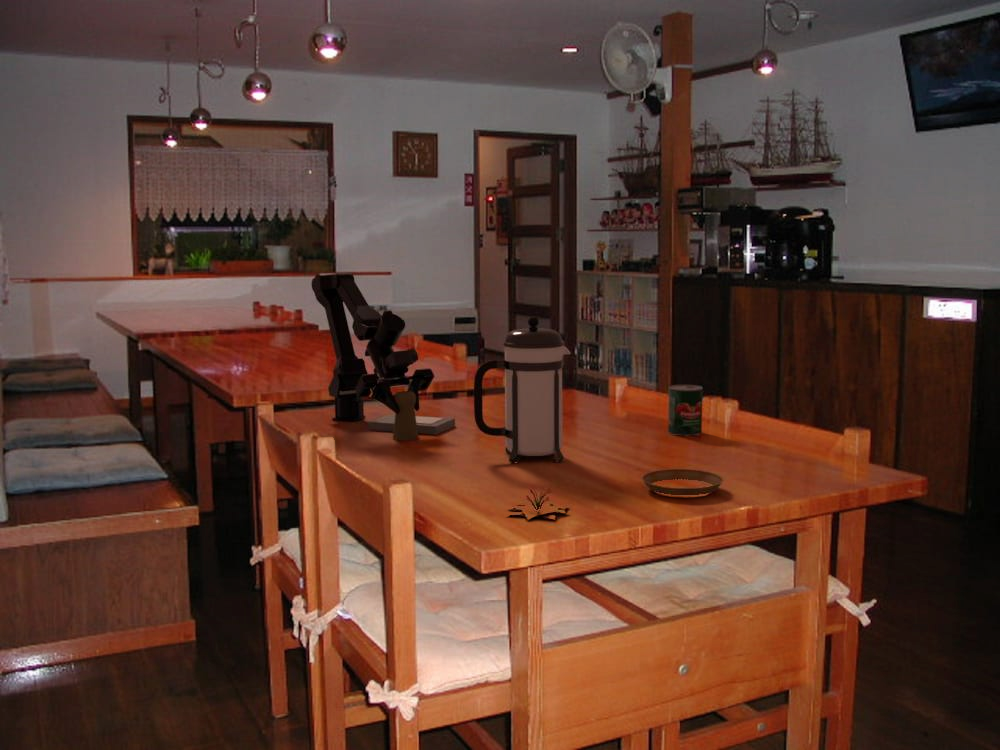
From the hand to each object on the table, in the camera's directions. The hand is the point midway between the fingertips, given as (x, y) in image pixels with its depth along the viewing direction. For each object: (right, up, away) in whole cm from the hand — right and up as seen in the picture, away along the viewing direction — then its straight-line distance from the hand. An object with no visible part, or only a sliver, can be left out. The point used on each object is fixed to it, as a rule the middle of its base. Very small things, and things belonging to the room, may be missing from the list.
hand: (408, 411), depth 233 cm
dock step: (0, -5, +14) cm, 15 cm away
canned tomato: (+65, -6, +5) cm, 65 cm away
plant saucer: (+55, -13, -47) cm, 74 cm away
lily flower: (+28, -16, -61) cm, 69 cm away
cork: (-1, -7, +2) cm, 7 cm away
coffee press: (+27, -9, -20) cm, 35 cm away
